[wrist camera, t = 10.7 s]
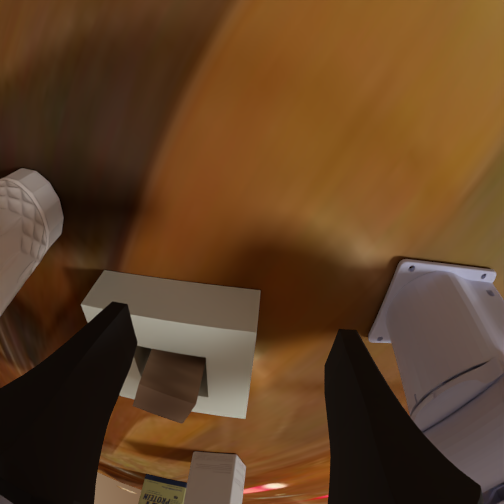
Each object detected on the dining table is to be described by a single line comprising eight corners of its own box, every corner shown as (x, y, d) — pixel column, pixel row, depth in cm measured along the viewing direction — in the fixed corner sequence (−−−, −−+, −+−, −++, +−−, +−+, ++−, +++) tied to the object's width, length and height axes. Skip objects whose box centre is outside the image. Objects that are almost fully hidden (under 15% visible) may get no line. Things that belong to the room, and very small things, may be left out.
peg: (212, 330, 25) (195, 404, 19) (198, 355, 27) (182, 423, 21) (166, 312, 24) (138, 383, 18) (156, 339, 26) (132, 405, 20)
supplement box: (192, 450, 41) (178, 519, 31) (237, 453, 40) (228, 526, 30) (205, 464, 45) (195, 525, 35) (247, 466, 44) (239, 530, 34)
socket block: (260, 290, 22) (256, 332, 18) (249, 383, 28) (245, 418, 25) (104, 270, 22) (80, 304, 19) (131, 364, 29) (119, 395, 25)
